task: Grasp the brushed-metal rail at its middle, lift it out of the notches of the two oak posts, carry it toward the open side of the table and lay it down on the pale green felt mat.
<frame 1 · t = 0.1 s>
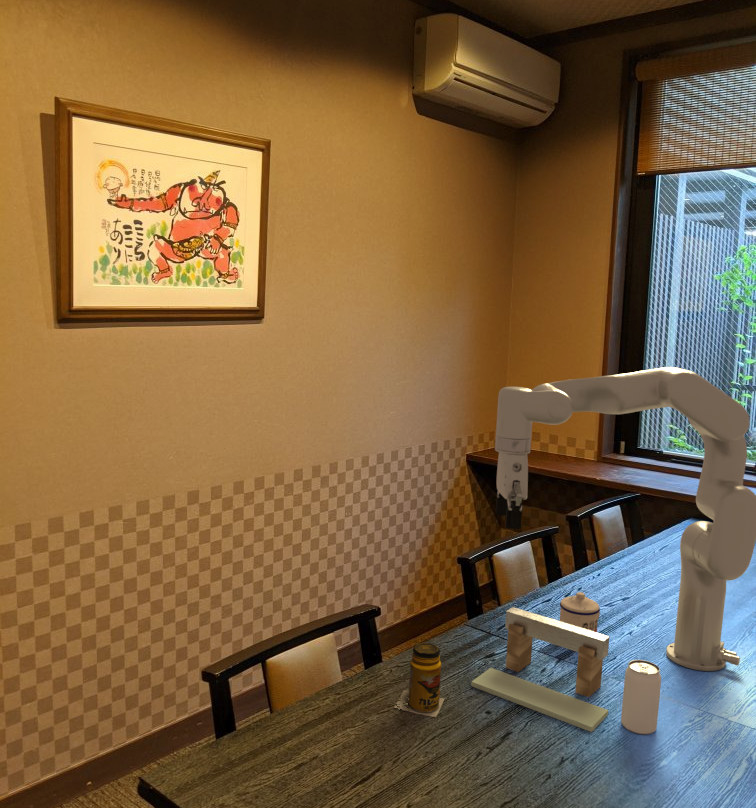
hand: (507, 521, 173), 31 cm above the table, tool pointing down, fingers open, 9 cm apart
mat: (537, 700, 159), on the table
can: (638, 727, 151), on the table
post b: (518, 665, 174), on the table
rail: (554, 641, 168), point 8 cm above the table, touching post a, post b
post a: (588, 689, 164), on the table
teacup with lid: (580, 639, 188), on the table
condiment: (419, 705, 156), on the table
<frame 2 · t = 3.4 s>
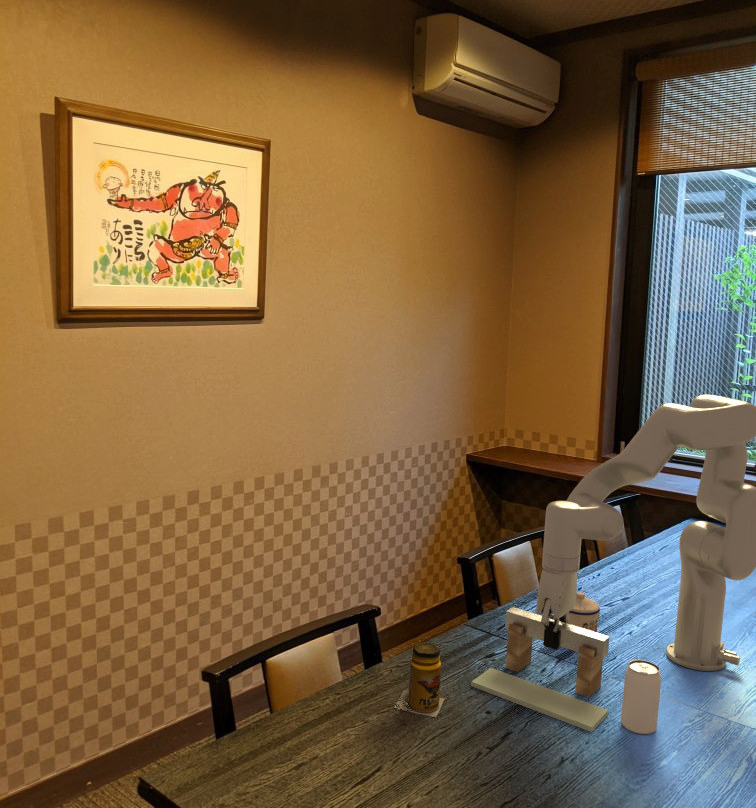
hand: (554, 643, 168), 7 cm above the table, tool pointing down, fingers closed on rail, 3 cm apart
rail: (554, 641, 168), point 8 cm above the table, touching gripper, post b
everything else where it was.
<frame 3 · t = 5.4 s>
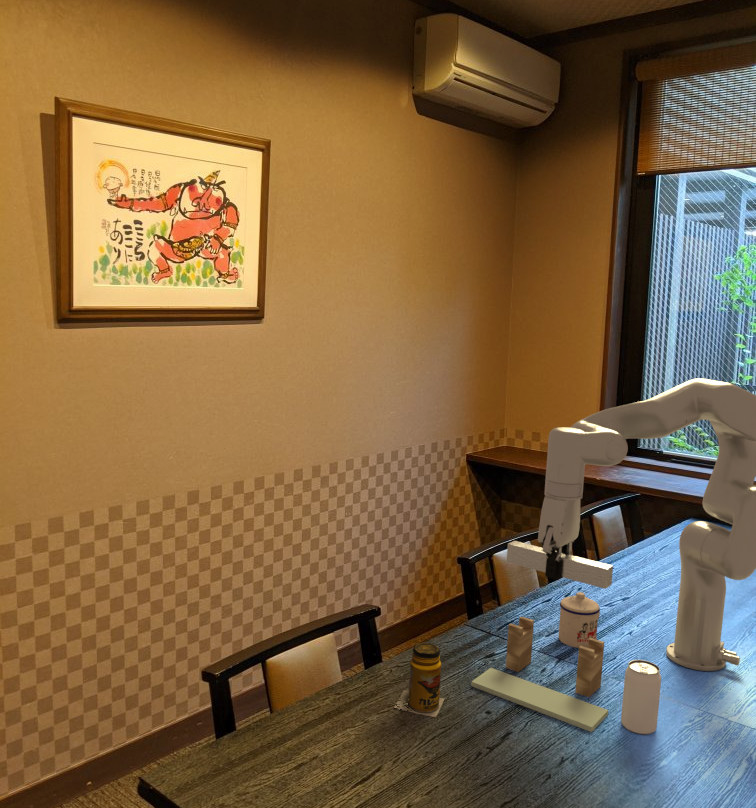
hand: (557, 574, 164), 23 cm above the table, tool pointing down, fingers closed on rail, 3 cm apart
rail: (557, 573, 164), point 24 cm above the table, touching gripper
everything else where it was.
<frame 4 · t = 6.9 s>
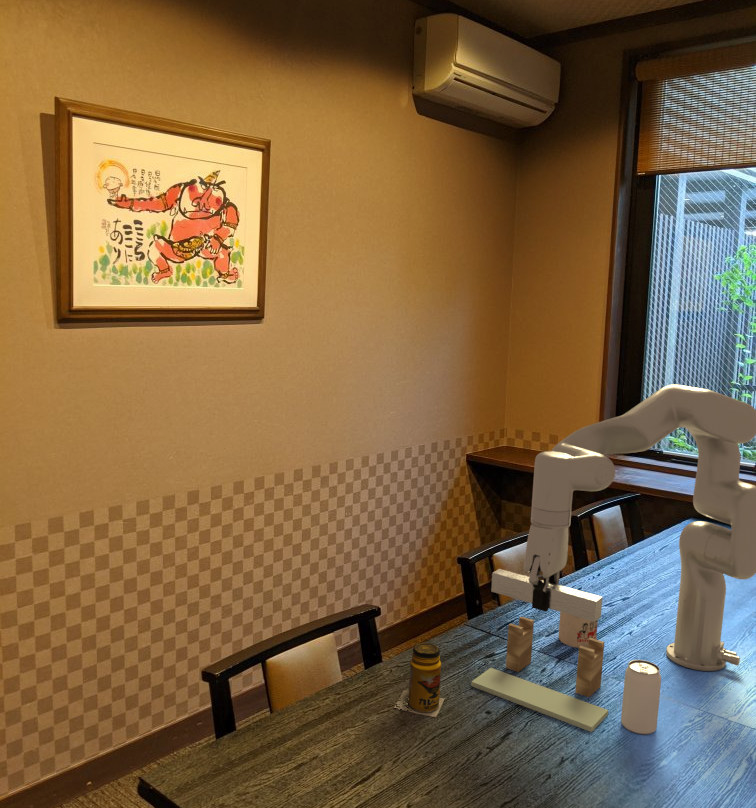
hand: (544, 605, 156), 20 cm above the table, tool pointing down, fingers closed on rail, 3 cm apart
rail: (544, 603, 156), point 20 cm above the table, touching gripper
everything else where it was.
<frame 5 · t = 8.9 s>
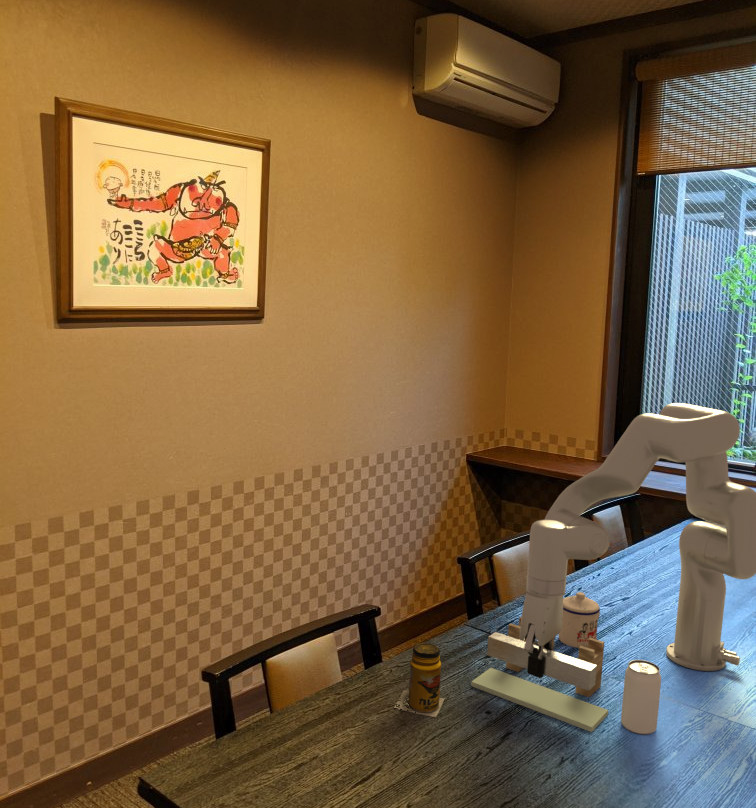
hand: (539, 671, 158), 6 cm above the table, tool pointing down, fingers closed on rail, 3 cm apart
rail: (539, 669, 158), point 7 cm above the table, touching gripper
everything else where it was.
when the fingers open (2 cm above the table, at t = 10.6 s): rail drops 1 cm, resting on mat.
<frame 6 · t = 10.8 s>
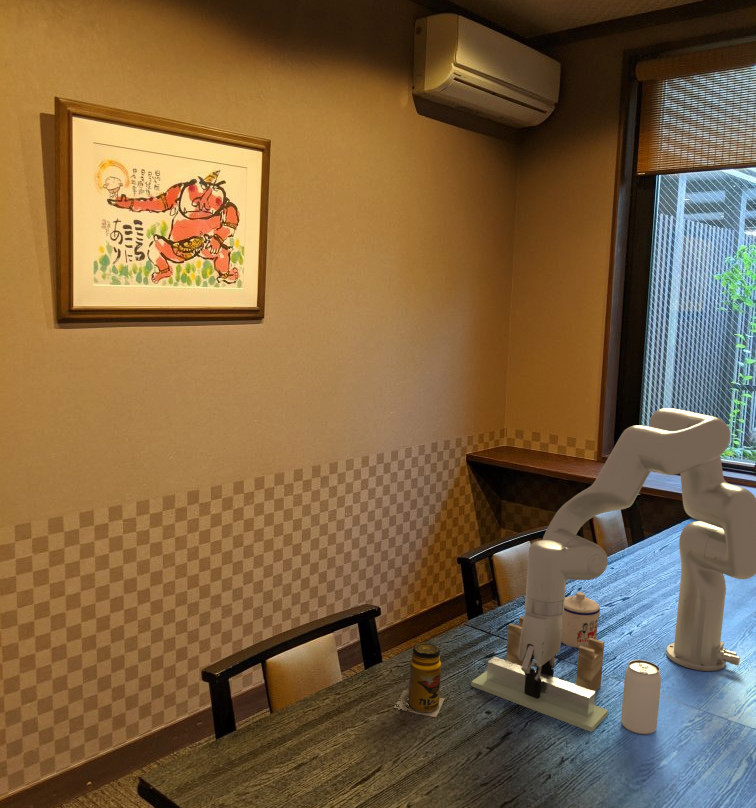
hand: (538, 690, 159), 2 cm above the table, tool pointing down, fingers open, 4 cm apart
rail: (538, 694, 159), point 1 cm above the table, touching mat
everything else where it was.
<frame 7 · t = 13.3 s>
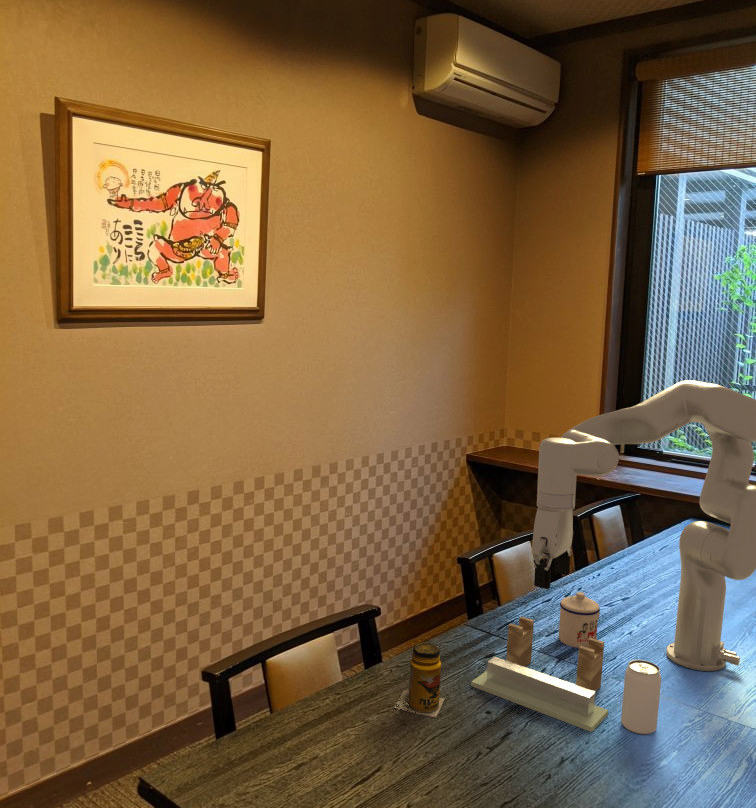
hand: (552, 580, 163), 22 cm above the table, tool pointing down, fingers open, 9 cm apart
nothing on the table moved.
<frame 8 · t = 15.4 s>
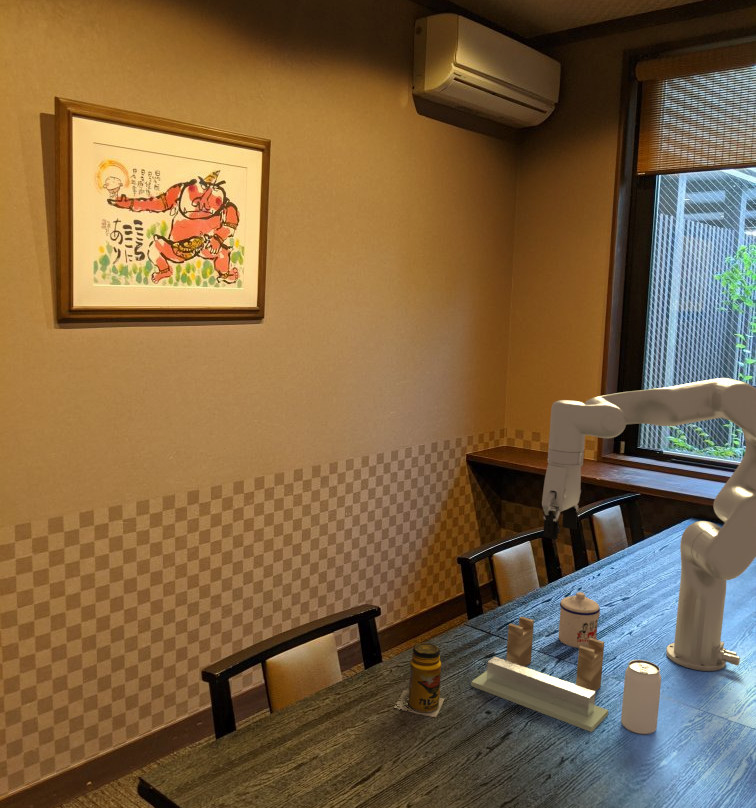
hand: (559, 533, 176), 28 cm above the table, tool pointing down, fingers open, 9 cm apart
nothing on the table moved.
at the end: rail inside the target area on the mat (0.2 cm from its centre), point 1.0 cm above the mat's base; rail touching mat; the gripper is holding nothing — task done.
